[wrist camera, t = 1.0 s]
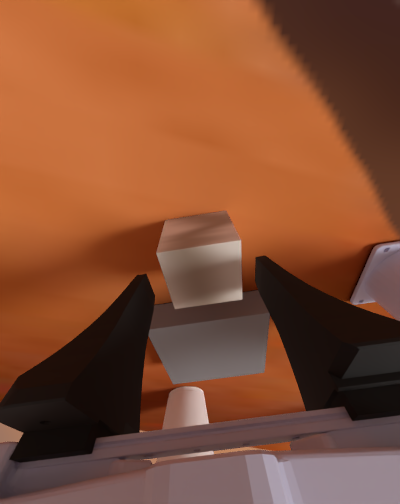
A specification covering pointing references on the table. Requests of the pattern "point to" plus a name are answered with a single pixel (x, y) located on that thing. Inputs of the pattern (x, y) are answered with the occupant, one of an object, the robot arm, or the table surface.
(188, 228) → the cream cube
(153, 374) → the table surface
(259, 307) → the charcoal plinth
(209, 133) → the table surface
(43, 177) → the table surface
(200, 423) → the foam cup
